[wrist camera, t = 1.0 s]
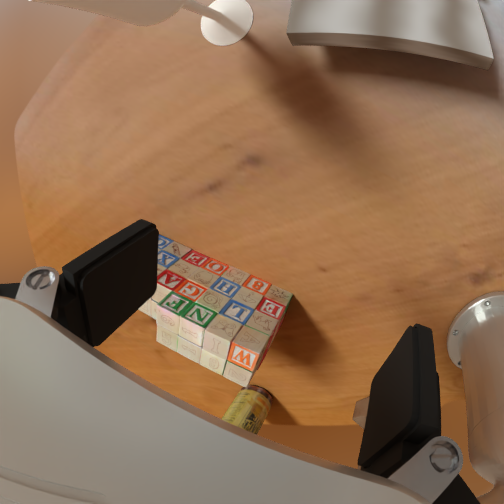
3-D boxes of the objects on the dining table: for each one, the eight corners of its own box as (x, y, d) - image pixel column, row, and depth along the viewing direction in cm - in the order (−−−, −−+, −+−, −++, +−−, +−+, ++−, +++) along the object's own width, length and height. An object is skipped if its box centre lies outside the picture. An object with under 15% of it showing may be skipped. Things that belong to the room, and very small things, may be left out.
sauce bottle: (276, 408, 51) (229, 499, 35) (245, 402, 54) (193, 487, 38) (270, 384, 49) (216, 482, 33) (237, 379, 52) (178, 468, 35)
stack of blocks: (155, 267, 48) (101, 307, 38) (158, 232, 45) (98, 269, 35) (281, 327, 43) (246, 390, 33) (295, 292, 40) (259, 356, 30)
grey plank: (469, -2, 17) (472, -14, 15) (487, 70, 18) (493, 58, 16) (301, -19, 23) (296, -32, 22) (292, 45, 24) (286, 32, 22)
